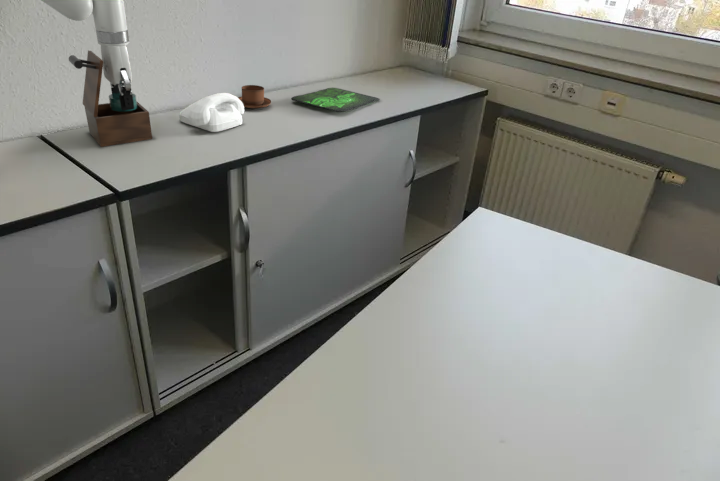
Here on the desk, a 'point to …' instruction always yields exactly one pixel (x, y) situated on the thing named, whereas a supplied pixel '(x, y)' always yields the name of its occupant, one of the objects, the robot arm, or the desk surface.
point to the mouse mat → (335, 99)
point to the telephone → (214, 112)
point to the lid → (90, 80)
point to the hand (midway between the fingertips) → (123, 104)
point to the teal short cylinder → (116, 104)
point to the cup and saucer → (254, 97)
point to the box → (119, 125)
